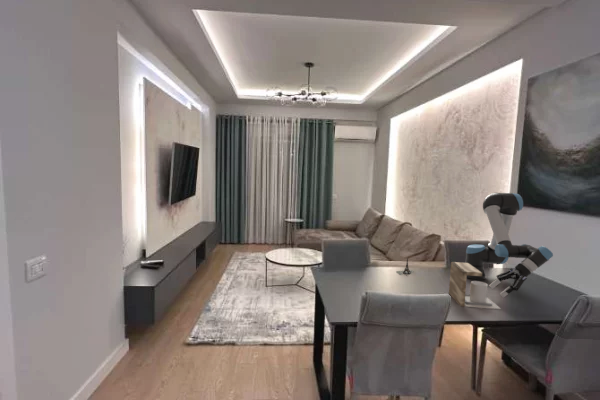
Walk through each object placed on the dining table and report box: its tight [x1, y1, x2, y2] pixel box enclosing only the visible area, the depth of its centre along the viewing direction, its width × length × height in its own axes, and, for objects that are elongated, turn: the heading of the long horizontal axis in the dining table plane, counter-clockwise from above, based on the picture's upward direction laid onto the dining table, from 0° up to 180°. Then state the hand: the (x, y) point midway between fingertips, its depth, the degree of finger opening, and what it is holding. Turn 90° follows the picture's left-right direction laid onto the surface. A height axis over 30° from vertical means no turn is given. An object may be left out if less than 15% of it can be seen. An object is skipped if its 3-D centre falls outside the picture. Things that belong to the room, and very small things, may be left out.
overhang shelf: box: [448, 261, 482, 308], centre depth 188 cm, size 10×20×20 cm, turn 173°
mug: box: [469, 280, 489, 303], centre depth 188 cm, size 9×12×11 cm
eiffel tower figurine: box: [395, 256, 414, 276], centre depth 239 cm, size 15×10×13 cm
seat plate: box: [464, 293, 501, 310], centre depth 188 cm, size 18×20×2 cm
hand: (495, 291), depth 187 cm, fingers open, 13 cm apart
